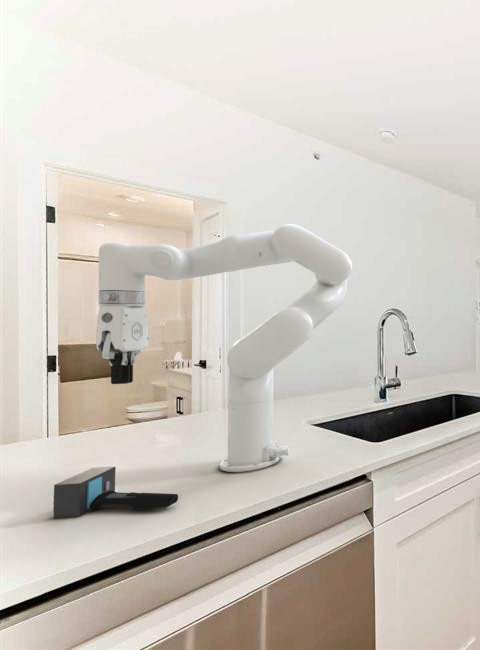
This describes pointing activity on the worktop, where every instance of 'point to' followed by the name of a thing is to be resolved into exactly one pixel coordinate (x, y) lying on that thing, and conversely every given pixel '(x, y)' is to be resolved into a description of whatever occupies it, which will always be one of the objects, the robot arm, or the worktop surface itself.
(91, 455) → the worktop surface
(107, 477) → the dark grey box
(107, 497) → the electric trimmer
